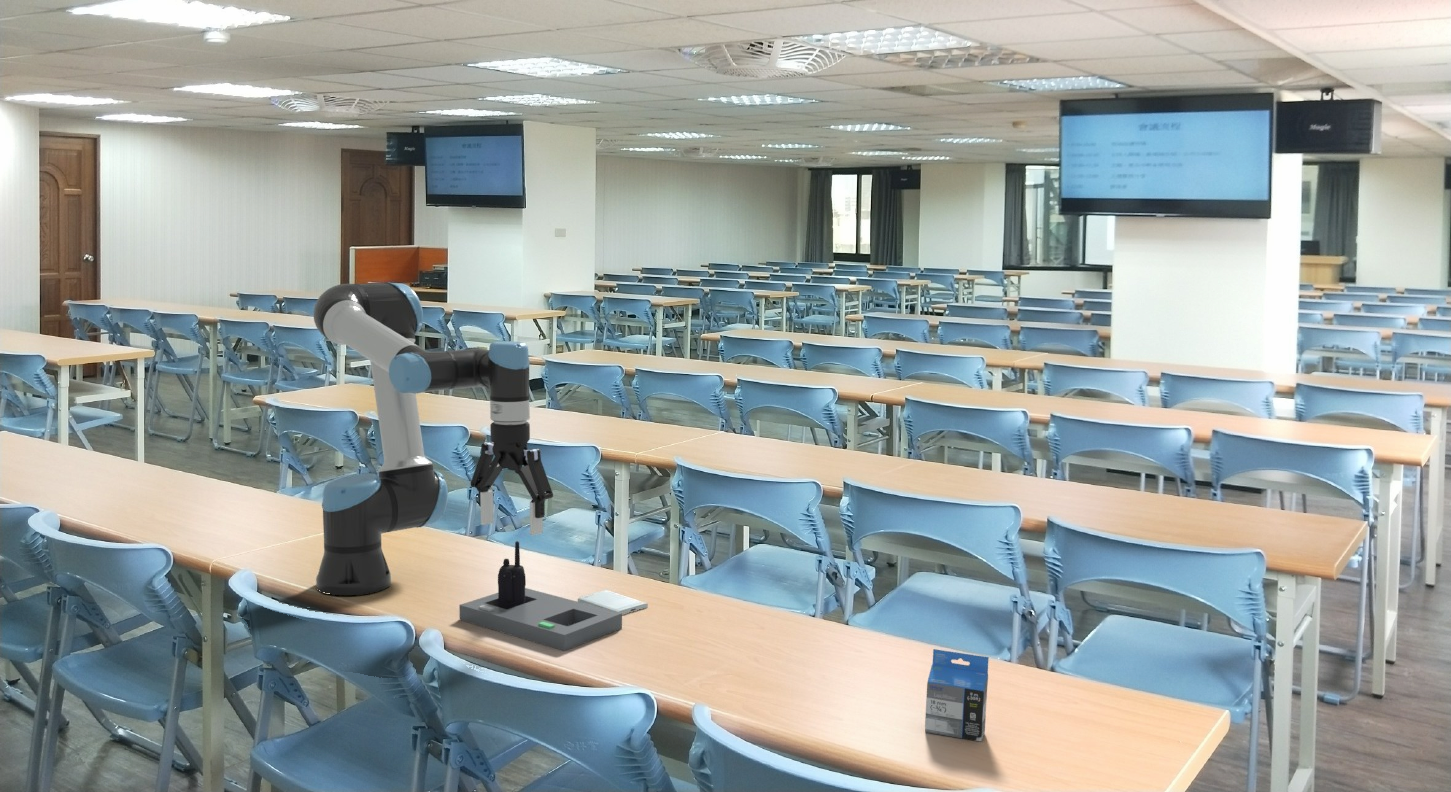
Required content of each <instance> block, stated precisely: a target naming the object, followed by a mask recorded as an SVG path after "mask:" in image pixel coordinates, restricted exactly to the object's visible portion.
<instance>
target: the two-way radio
mask: <svg viewBox="0 0 1451 792" xmlns="http://www.w3.org/2000/svg"><path fill="white" fill-rule="evenodd" d="M520 551H521V550H520V542H519V541H517V540H516V541H515V544H514V564H510V559H509V558H504V559H503V563H502V564H503V565H501V566H500V568H499V570H498V575H497V588H498V589H497V591H498V592H497V593H498V601H499V607H500V608H503V609H510V608H513V607H516V606H519V605H522V604H525V588H526V582H527V581H526V573H525V567H524V566H523V565H521V560H520V559H521V558H520V557H521V556H520V555H521V554H520Z"/></svg>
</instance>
